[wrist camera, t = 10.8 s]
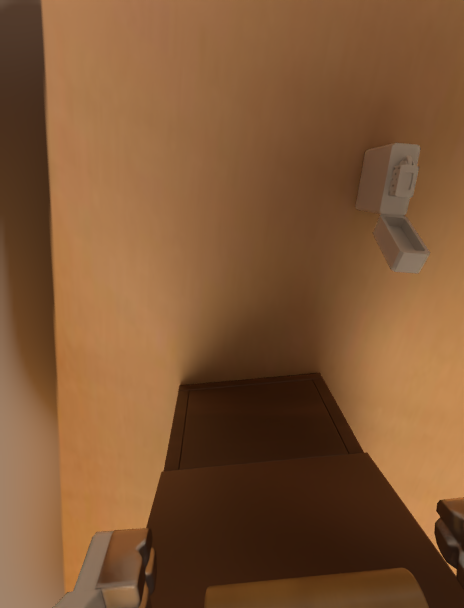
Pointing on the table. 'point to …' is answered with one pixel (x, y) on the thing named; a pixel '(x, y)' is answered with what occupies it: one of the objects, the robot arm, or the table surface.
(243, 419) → the chest
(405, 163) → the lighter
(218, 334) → the table surface
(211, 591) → the lid
